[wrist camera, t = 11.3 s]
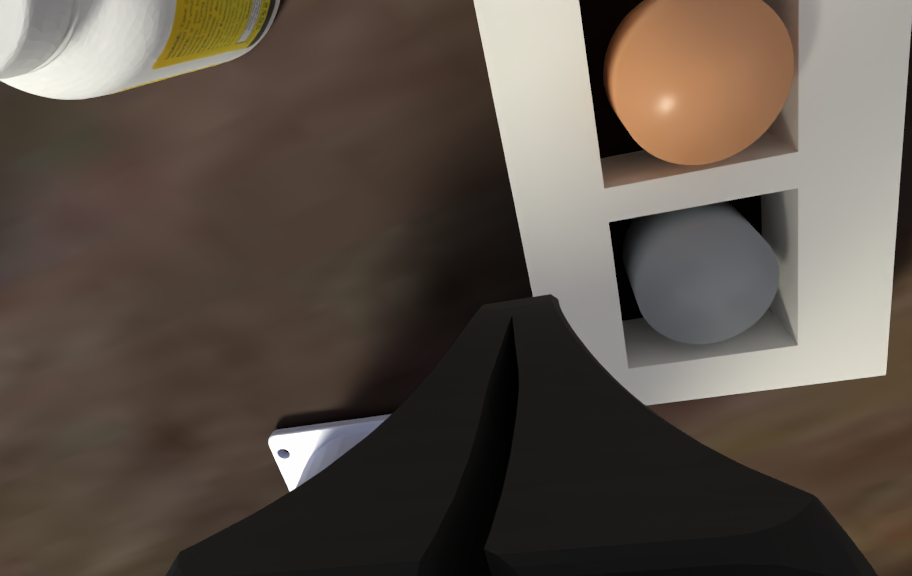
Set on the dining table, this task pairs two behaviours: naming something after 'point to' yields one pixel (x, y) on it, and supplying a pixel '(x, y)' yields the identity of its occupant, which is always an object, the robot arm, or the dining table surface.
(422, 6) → the dining table surface
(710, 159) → the orange rounded dome
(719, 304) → the grey button
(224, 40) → the supplement bottle
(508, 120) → the button panel
